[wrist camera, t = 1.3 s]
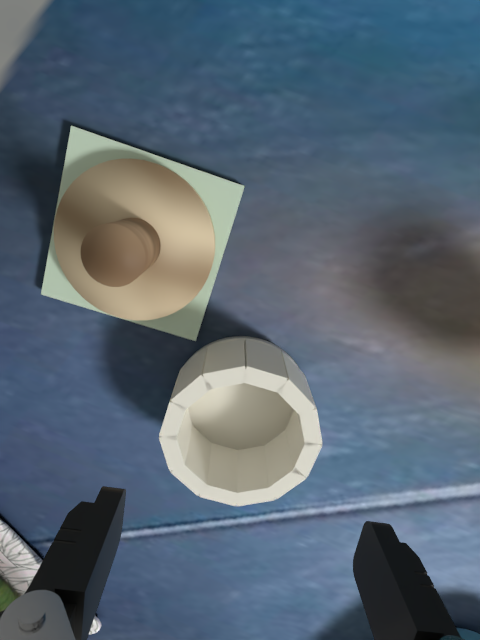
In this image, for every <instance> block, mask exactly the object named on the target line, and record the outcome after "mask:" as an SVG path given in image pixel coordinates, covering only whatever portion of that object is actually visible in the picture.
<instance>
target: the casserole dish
mask: <svg viewBox="0 0 480 640" xmlns="http://www.w3.org/2000/svg"><path fill="white" fill-rule="evenodd" d="M456 629H457V631H458V632H459V634H460V636H461V638H463V639H465V640H480V634H479V633H476V632H474V631H470V630H467V629H462V628H456Z"/></svg>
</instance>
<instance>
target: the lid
mask: <svg viewBox="0 0 480 640" xmlns="http://www.w3.org/2000/svg"><path fill="white" fill-rule="evenodd" d="M54 245H55V251H56V254H57V258H58V261H59V264H60V266H61V268H62V271H63V273H64V274H65V276H66V278H67V280H68V281H69V282H70V284H71V285H72V286H73V288H74V289H75V290H76V291H77V292H78V293H79V294H80V295H81V296H82V297H83V298H84V299H85V300H86V301H87V302H89V303H90V304H91V305H93V306H94V307H96V308H97V309H99V310H101V311H103V312H105V313H107V314H110V315H113V316H115V317H119V318H123V319H127V320H136V321H140V320H153V319H158V318H162V317H166V316H168V315H170V314H173V313H175V312H177V311H178V310H180V309H182V308H183V307H185V306H186V305H187V304H188V303H190V302H191V301H192V300H193V299H194V298H195V297H196V296H197V294H198V293H199V292H200V290H201V289H202V288H203V286H204V284H205V282H206V281H207V279H208V276H209V273H210V271H211V268H212V265H213V261H214V256H215V232H214V226H213V223H212V219H211V216H210V214H209V211H208V209H207V207H206V205H205V203H204V202H203V200H202V198H201V197H200V195H199V194H198V193H197V192H196V190H195V189H194V188H193V187H192V186H191V185H190V184H189V183H188V182H187V181H186V180H185V179H183V178H182V177H181V176H180V175H178V174H177V173H175V172H173V171H172V170H170V169H168V168H166V167H164V166H161V165H159V164H156V163H152V162H149V161H145V160H139V159H116V160H110V161H106V162H103V163H100V164H98V165H96V166H94V167H91V168H90V169H88V170H87V171H85V172H84V173H82V174H81V175H80V176H79V177H78V178H76V179H75V180H74V181H73V182H72V184H71V185H70V186H69V187H68V189H67V190H66V192H65V193H64V195H63V197H62V198H61V201H60V203H59V206H58V208H57V212H56V216H55V221H54Z"/></svg>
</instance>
